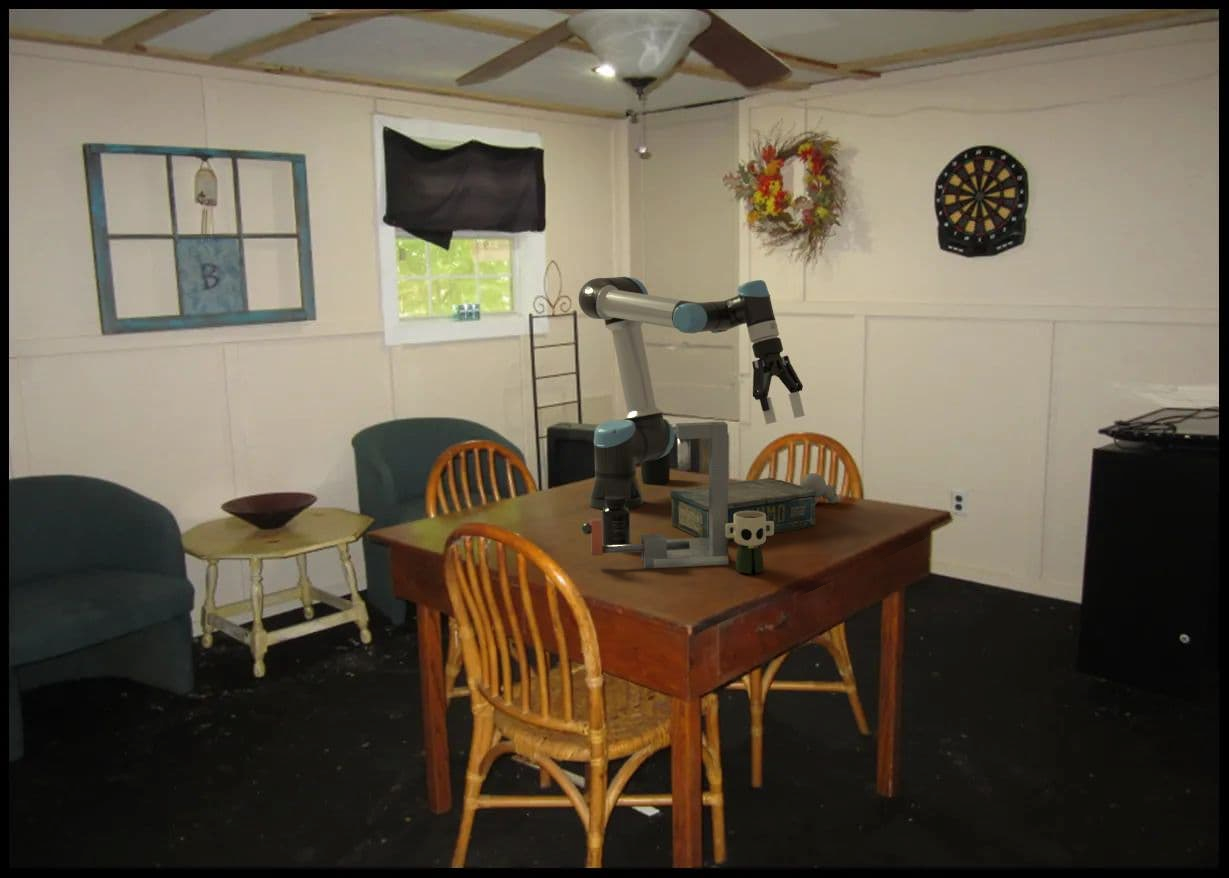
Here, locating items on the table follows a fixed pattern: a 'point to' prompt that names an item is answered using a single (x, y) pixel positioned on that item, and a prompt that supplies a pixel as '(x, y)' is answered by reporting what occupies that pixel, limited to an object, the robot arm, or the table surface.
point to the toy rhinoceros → (820, 487)
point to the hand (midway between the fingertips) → (785, 420)
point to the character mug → (749, 539)
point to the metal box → (746, 505)
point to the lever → (599, 549)
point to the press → (716, 544)
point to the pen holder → (656, 470)
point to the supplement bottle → (615, 521)
